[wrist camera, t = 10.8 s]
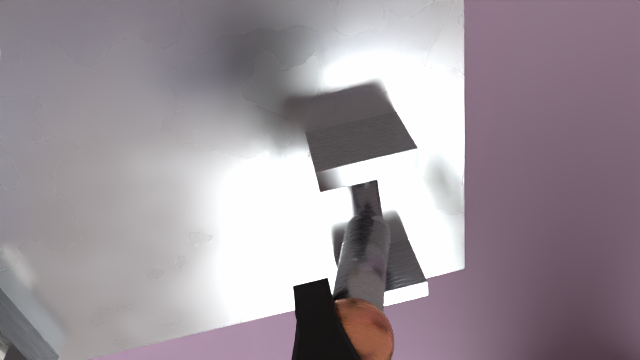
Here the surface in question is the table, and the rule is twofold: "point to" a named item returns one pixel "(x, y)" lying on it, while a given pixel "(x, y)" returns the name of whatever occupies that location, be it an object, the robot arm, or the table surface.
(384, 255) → the toggle lever
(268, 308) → the panel
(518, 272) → the table surface
